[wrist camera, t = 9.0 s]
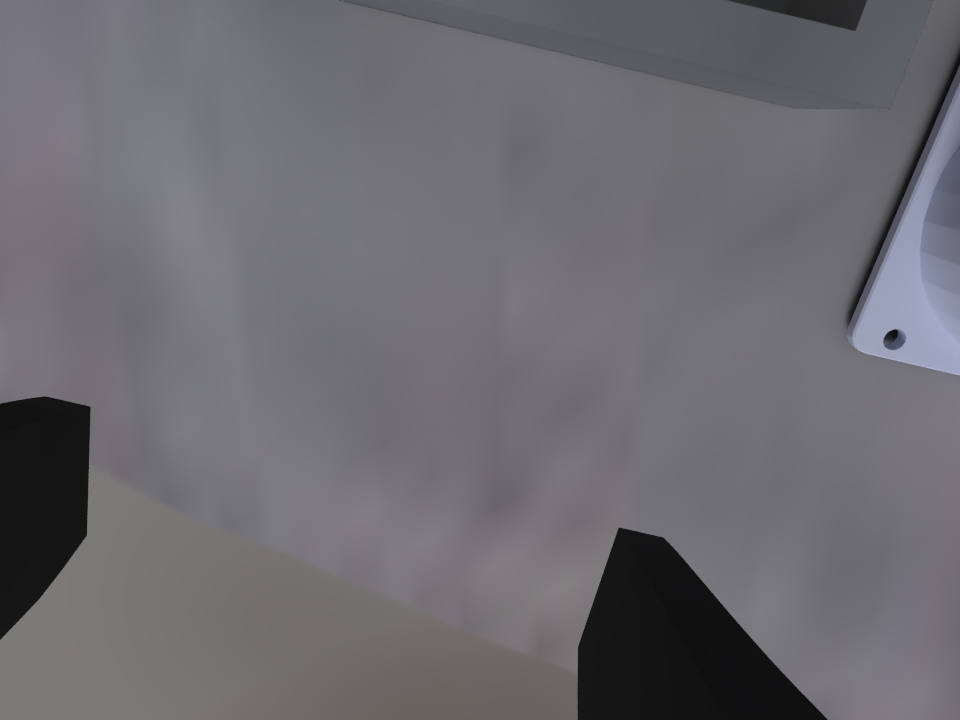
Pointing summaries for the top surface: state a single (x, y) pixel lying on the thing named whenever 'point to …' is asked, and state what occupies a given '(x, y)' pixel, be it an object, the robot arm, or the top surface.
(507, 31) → the box
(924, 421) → the top surface
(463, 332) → the top surface
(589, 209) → the top surface
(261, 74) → the top surface
